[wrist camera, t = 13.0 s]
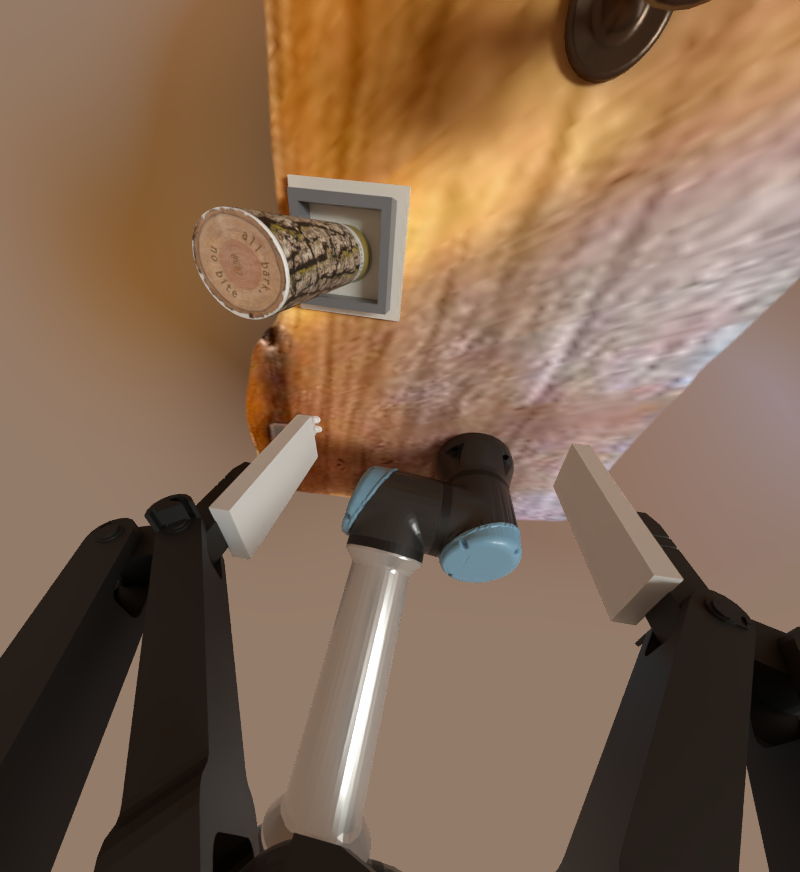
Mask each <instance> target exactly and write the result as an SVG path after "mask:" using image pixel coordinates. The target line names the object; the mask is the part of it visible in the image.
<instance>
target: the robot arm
mask: <svg viewBox="0 0 800 872" xmlns="http://www.w3.org/2000/svg"><path fill="white" fill-rule="evenodd" d="M317 458H318V454H317V448H316V442H315V436H314V430H313V424H312V418H311V416H308V415H298V414H297V415H296V416H295V418H294V419H293V420H292V421H291V422H290V423H289V424H288V425H287V426H286V427H285V428H284V429H283V430H282V431H281V432H280V433H279V434H278V435H277V436H276V437H275V438H274V440H273V441H272V442H271V443H270V444H269V445H268V446H267V447H266V448H265V449H264V450H263V451H262V452H261V453H260V454H259V455H258V456H257V457H256V458H255V459H254V461H253V462H252V463H248V462H244V463H242V464H241V465H239V466H237V467H235V468H234V469H232V470H231V472H229V473H228V474H227V475H226V476H225V479H222V480H221V481H220V482H219V483H218V485H217V486H215V487H214V488H213V489H212V490H211V491H210V492H209V493H208V494H207V495H206V496H205V497H204V498H203V499H202V500H201V501H200V502H199V503H198V504H197V505H196V506H195V504H194V502H193V500H192V498H191V497H190V496H188V495H186V494H176V495H171V496H168V497H166V498H163V499H161V500H159V501H158V502H156V503H154V504H153V505H152V506H151V507H150V508H149V509H148V510H147V511H146V513H145V518H146V519H147V521H148V522H149V523H150V525H151V526H143V527H138V526H137V525H136V524H135V522H134V521H133V520H132V519H129V518H120V519H116V520H112V521H109V522H107V523H105V524H103V525H101V526H99V527H98V528H96V529H95V530H93V531H92V532H91V533H90V534H89V535H88V536H87V537H86V538H85V540H84V541H83V542H82V543H81V545H80V546H79V548H78V549H77V551H76V552H75V554H74V555H73V556H72V558H71V559H70V560H69V562H68V564H67V565H66V566H65V568H64V569H63V570H62V572H61V573H60V575H59V576H58V578H57V579H56V580H55V582H54V583H53V585H52V586H51V587H50V589H49V590H48V591H47V593H46V594H45V596H44V597H43V599H42V600H41V602H40V603H39V604H38V606H37V607H36V608H35V610H34V611H33V613H32V614H31V615H30V617H29V618H28V620H27V621H26V622H25V624H24V625H23V627H22V628H21V630H20V631H19V632H18V634H17V635H16V637H15V638H14V640H13V641H12V642H11V644H10V645H9V647H8V648H7V649H6V651H5V652H4V654H3V655H2V656H1V658H0V872H51V869H52V867H53V864H54V862H55V859H56V856H57V854H58V851H59V849H60V846H61V843H62V841H63V839H64V836H65V833H66V831H67V828H68V826H69V823H70V820H71V818H72V815H73V813H74V810H75V807H76V805H77V802H78V800H79V797H80V794H81V792H82V789H83V787H84V784H85V782H86V779H87V776H88V774H89V771H90V768H91V766H92V763H93V761H94V758H95V756H96V753H97V750H98V748H99V745H100V743H101V740H102V737H103V735H104V732H105V730H106V727H107V725H108V722H109V719H110V717H111V714H112V712H113V709H114V706H115V703H116V701H117V698H118V696H119V693H120V691H121V688H122V686H123V683H124V680H125V678H126V675H127V673H128V670H129V667H130V665H131V662H132V660H133V657H134V655H135V652H136V649H137V646H138V644H139V641H140V639H141V636H142V634H143V638H142V646H141V654H140V662H139V671H138V678H137V686H136V694H135V702H134V711H133V718H132V726H131V734H130V742H129V751H128V758H127V766H126V774H125V782H124V790H123V798H122V805H121V810H120V815H119V817H118V820H117V823H116V825H115V826H114V827H113V829H112V830H111V831H110V833H109V834H108V836H107V837H106V838H105V840H104V842H103V844H102V847H101V849H100V852H99V854H98V857H97V860H96V865H95V869H94V872H401V871H400V870H398V869H397V868H395V867H393V866H390V865H387V864H384V863H382V862H379V861H376V860H372V859H369V855H370V849H371V837H370V832H369V829H368V826H367V823H366V821H365V818H364V816H363V809H364V804H365V799H366V793H367V788H368V783H369V778H370V773H371V767H372V763H373V757H374V752H375V747H376V742H377V737H378V732H379V727H380V722H381V716H382V712H383V707H384V702H385V696H386V691H387V686H388V681H389V676H390V671H391V666H392V661H393V655H394V650H395V645H396V640H397V635H398V630H399V625H400V620H401V615H402V609H403V604H404V599H405V594H406V589H407V584H408V579H409V576H410V575H411V573H413V572H414V571H415V570H417V569H418V568H419V567H421V566H422V561H423V555H424V554H428V555H432V556H435V557H439V560H440V561H439V562H440V564H441V567H442V569H443V571H444V572H445V573H448V575H449V576H450V577H452V578H454V579H456V580H459V581H465V582H475V583H476V582H477V583H478V582H487V581H492V580H494V579H499V578H501V577H504V576H505V575H507V574H509V573H510V572H512V571H513V570H514V569H515V568H516V567H517V565H518V564H519V562H520V559H521V555H522V551H521V542H520V531H519V529H518V526H517V521H516V517H515V513H514V508H513V504H512V500H511V495H510V491H509V487H510V483H511V479H512V475H513V470H514V465H513V460H512V456H511V453H510V451H509V449H508V448H507V446H506V445H505V444H504V443H503V442H502V441H500V440H499V439H497V438H495V437H493V436H490V435H487V434H481V433H469V434H463V435H460V436H457V437H455V438H453V439H451V440H449V441H448V442H447V443H446V444H444V446H443V447H442V448H441V449H440V451H439V453H438V456H437V464H436V470H437V475H438V478H439V480H436V479H432V478H428V477H424V476H420V475H416V474H412V473H408V472H405V471H401V470H399V469H397V468H394V469H392V468H387V467H382V466H372V467H370V468H369V469H367V470H366V472H365V473H364V474H363V475H362V477H361V479H360V480H359V482H358V484H357V486H356V488H355V490H354V492H353V494H352V497H351V499H350V501H349V504H348V506H347V509H346V513H345V516H344V518H343V522H342V531H343V532H344V533H345V534H346V535H349V538H348V542H347V546H346V548H347V550H348V552H349V553H350V556H351V558H352V564H351V568H350V571H349V575H348V578H347V582H346V586H345V589H344V592H343V596H342V599H341V603H340V606H339V610H338V613H337V617H336V620H335V624H334V627H333V631H332V634H331V638H330V641H329V645H328V648H327V652H326V655H325V659H324V662H323V666H322V669H321V673H320V676H319V680H318V683H317V687H316V690H315V694H314V697H313V701H312V704H311V708H310V711H309V715H308V718H307V722H306V725H305V729H304V732H303V736H302V739H301V743H300V746H299V750H298V753H297V757H296V760H295V764H294V767H293V771H292V774H291V778H290V781H289V785H288V788H287V791H286V792H285V793H284V794H283V795H281V796H280V797H279V798H278V799H276V800H275V801H274V802H273V803H272V804H271V806H270V807H269V808H268V810H267V812H266V814H265V817H264V820H263V823H262V824H261V825H259V826H258V827H257V822H256V814H255V808H254V804H253V799H252V795H251V792H250V790H249V787H248V783H247V778H246V771H245V761H244V751H243V741H242V731H241V721H240V712H239V702H238V692H237V683H236V672H235V662H234V653H233V643H232V633H231V623H230V613H229V603H228V593H227V584H226V574H225V564H224V559H223V557H222V554H223V553H224V552H225V551H226V549H227V548H229V550H230V552H231V554H232V556H234V557H240V558H246V559H251V558H252V557H253V555H254V553H255V552H256V551H257V549H258V547H259V546H260V544H261V543H262V541H263V540H264V538H265V537H266V535H267V534H268V532H269V531H270V529H271V528H272V526H273V525H274V523H275V521H276V520H277V518H278V517H279V515H280V514H281V512H282V511H283V509H284V508H285V506H286V505H287V503H288V502H289V500H290V499H291V497H292V496H293V494H294V493H295V491H296V490H297V488H298V487H299V485H300V484H301V482H302V481H303V479H304V477H305V476H306V474H307V473H308V471H309V470H310V468H311V467H312V465H313V464H314V462H315V461H316V459H317ZM554 489H555V491H556V493H557V496H558V498H559V500H560V503H561V505H562V507H563V510H564V512H565V514H566V517H567V519H568V521H569V524H570V526H571V528H572V531H573V533H574V535H575V538H576V540H577V542H578V545H579V547H580V549H581V552H582V554H583V556H584V559H585V561H586V563H587V566H588V568H589V570H590V573H591V575H592V577H593V579H594V582H595V584H596V586H597V589H598V591H599V594H600V596H601V598H602V601H603V603H604V605H605V608H606V610H607V612H608V615H609V617H610V619H611V621H614V622H620V623H625V624H631V625H637V624H638V623H639V622H640V621H641V620H642V619H643V618H644V617H646V619H647V620H648V622H649V624H650V626H651V629H650V630H649V631H648V632H647V633H646V634H644V635H643V636H642V637H641V638H640V639H639V640H638V641H637V642H636V643H635V644H636V645H637V646H640V645H641V644H642V647H641V650H640V652H639V655H638V658H637V661H636V663H635V666H634V669H633V671H632V674H631V677H630V679H629V682H628V685H627V688H626V690H625V694H624V696H623V698H622V701H621V704H620V707H619V709H618V712H617V715H616V717H615V720H614V723H613V726H612V728H611V731H610V734H609V736H608V739H607V742H606V745H605V748H604V750H603V753H602V756H601V758H600V761H599V764H598V766H597V769H596V772H595V774H594V777H593V780H592V783H591V785H590V788H589V791H588V793H587V796H586V799H585V802H584V804H583V807H582V810H581V812H580V815H579V818H578V821H577V823H576V826H575V829H574V831H573V834H572V837H571V840H570V842H569V845H568V848H567V850H566V853H565V856H564V858H563V860H562V863H561V864H560V866H559V868H558V870H557V871H556V872H739V858H740V844H741V832H742V831H741V830H742V817H743V804H744V789H745V777H746V765H747V770H748V774H749V779H750V784H751V788H752V793H753V798H754V802H755V807H756V812H757V816H758V821H759V825H760V830H761V835H762V839H763V844H764V849H765V853H766V857H767V862H768V867H769V872H800V627H796V628H795V629H793V630H791V631H790V632H788V633H784V632H782V631H779V630H776V629H774V628H771V627H769V626H766V625H764V624H761V623H759V622H756V621H754V620H751V619H750V617H749V616H748V615H747V613H745V612H744V611H743V610H742V609H741V608H740V607H739V606H738V605H737V604H735V603H734V602H733V601H731V600H730V599H728V598H727V597H725V596H723V595H721V594H719V593H717V592H715V591H712V590H709V589H708V588H707V586H706V585H705V584H704V582H703V581H702V580H701V579H700V577H699V576H698V575H697V573H696V572H695V571H694V569H693V568H692V567H691V565H690V564H689V563H688V561H687V560H686V559H685V557H684V556H683V555H682V554H681V552H680V551H679V550H677V549H676V545H675V544H674V543H673V542H672V540H671V539H669V536H668V535H667V534H666V532H665V531H664V530H663V528H662V527H661V526H660V524H658V523H657V522H656V521H655V520H653V519H652V518H651V517H650V516H649V515H647V514H646V513H642V512H636V511H635V510H634V508H633V507H632V505H631V504H630V503H629V501H628V500H627V498H626V497H625V495H624V494H623V493H622V491H621V490H620V488H619V487H618V486H617V484H616V483H615V481H614V480H613V478H612V477H611V476H610V474H609V473H608V471H607V470H606V468H605V467H604V466H603V464H602V463H601V461H600V460H599V458H598V457H597V456H596V454H595V453H594V451H593V450H592V449H591V447H590V446H589V445H581V444H572V445H571V447H570V450H569V452H568V454H567V456H566V459H565V461H564V463H563V465H562V468H561V470H560V472H559V474H558V477H557V479H556V481H555V483H554Z"/></svg>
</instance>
